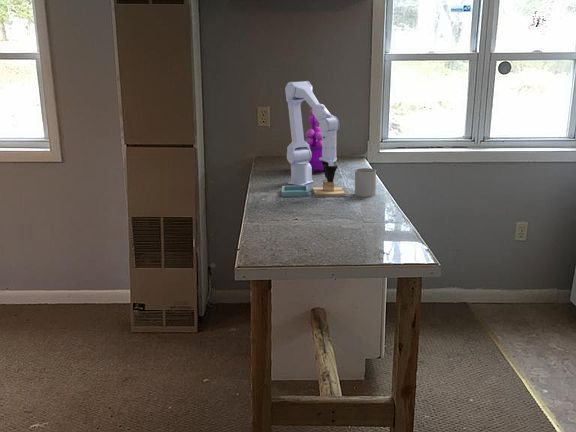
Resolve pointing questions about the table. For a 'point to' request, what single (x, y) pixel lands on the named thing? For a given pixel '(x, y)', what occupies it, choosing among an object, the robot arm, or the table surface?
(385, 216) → the table surface
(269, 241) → the table surface
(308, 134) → the decorative plant
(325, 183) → the oak cover
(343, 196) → the rubber mat
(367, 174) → the cup
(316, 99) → the robot arm
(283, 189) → the teal dish
